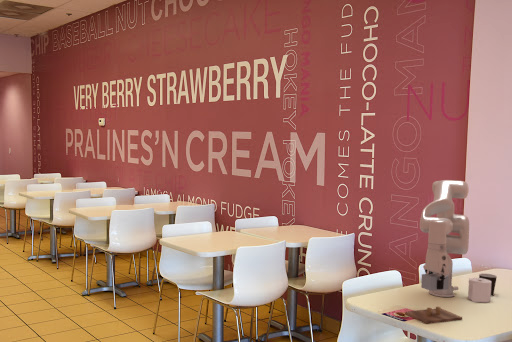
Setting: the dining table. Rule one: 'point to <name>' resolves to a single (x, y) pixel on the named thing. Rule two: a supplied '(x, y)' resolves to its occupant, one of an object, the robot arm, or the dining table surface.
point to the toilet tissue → (479, 290)
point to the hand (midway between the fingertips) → (434, 286)
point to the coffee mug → (491, 278)
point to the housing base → (433, 315)
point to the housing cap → (433, 282)
